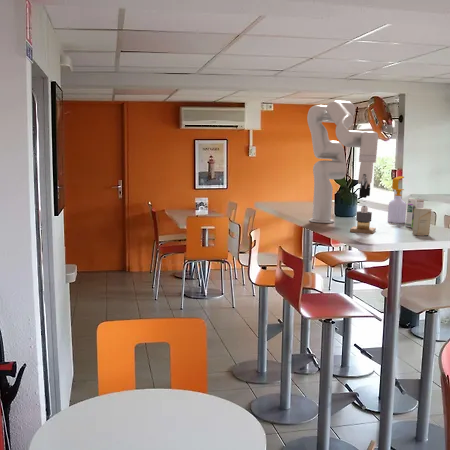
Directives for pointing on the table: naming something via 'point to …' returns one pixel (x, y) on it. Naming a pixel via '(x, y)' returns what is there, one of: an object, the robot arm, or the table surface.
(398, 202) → the soap bottle
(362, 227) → the post stand
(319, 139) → the robot arm
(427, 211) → the skincare box
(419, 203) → the syrup box
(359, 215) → the ring
